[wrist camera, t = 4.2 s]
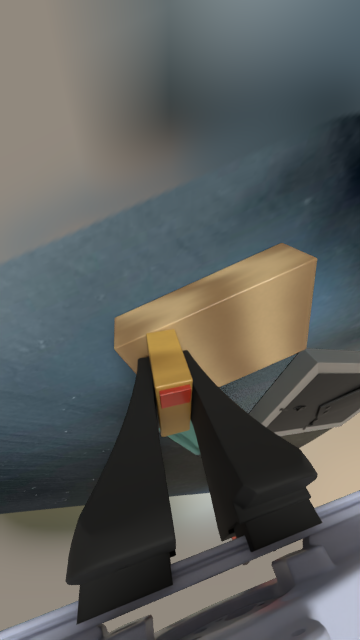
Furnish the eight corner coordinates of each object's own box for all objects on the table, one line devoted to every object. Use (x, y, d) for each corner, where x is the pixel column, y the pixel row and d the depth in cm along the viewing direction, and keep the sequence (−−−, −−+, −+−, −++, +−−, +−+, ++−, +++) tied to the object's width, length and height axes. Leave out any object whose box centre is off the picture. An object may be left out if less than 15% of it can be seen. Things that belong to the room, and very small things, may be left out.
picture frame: (405, 353, 28) (302, 347, 21) (429, 368, 26) (324, 368, 19) (330, 414, 36) (237, 426, 29) (344, 430, 34) (247, 447, 27)
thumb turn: (175, 378, 14) (191, 435, 11) (152, 383, 13) (162, 442, 10) (174, 328, 11) (195, 385, 8) (145, 332, 11) (155, 393, 8)
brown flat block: (161, 379, 18) (167, 410, 16) (114, 317, 13) (113, 349, 11) (282, 326, 18) (306, 349, 16) (281, 241, 13) (318, 257, 10)
